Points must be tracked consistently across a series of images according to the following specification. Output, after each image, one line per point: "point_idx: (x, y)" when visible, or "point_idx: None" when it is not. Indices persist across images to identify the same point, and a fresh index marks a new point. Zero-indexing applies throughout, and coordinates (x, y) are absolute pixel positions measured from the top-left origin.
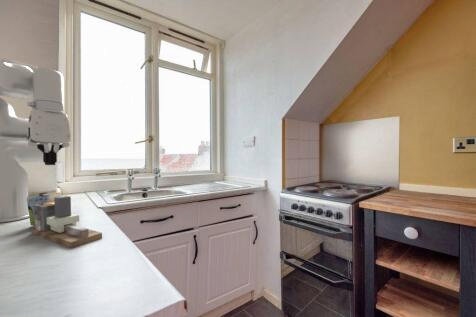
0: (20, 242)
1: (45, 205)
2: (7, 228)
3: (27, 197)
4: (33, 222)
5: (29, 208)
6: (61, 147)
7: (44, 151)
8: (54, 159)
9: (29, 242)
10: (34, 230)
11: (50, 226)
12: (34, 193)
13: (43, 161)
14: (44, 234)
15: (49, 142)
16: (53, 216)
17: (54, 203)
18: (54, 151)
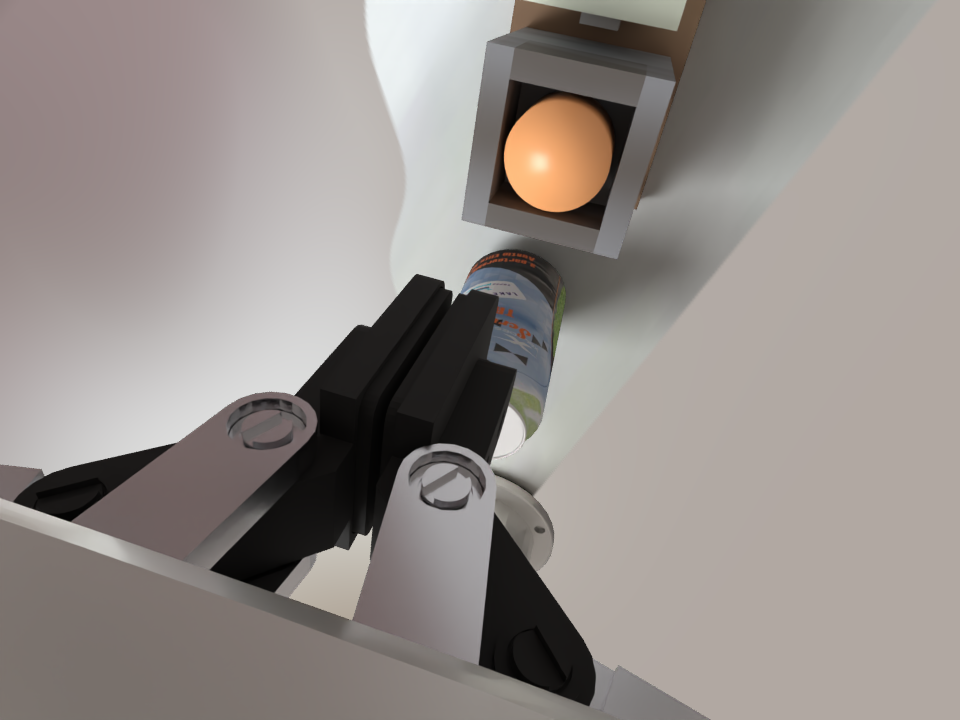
0: (784, 81)
1: (610, 147)
2: (594, 404)
3: (537, 425)
4: (562, 295)
5: (552, 363)
6: (81, 473)
7: (489, 504)
8: (396, 316)
9: (783, 15)
10: (651, 162)
11: (632, 52)
12: (511, 407)
13: (500, 430)
14: (704, 1)
15: (333, 624)
16: (638, 9)
17: (556, 119)
18: (310, 421)
